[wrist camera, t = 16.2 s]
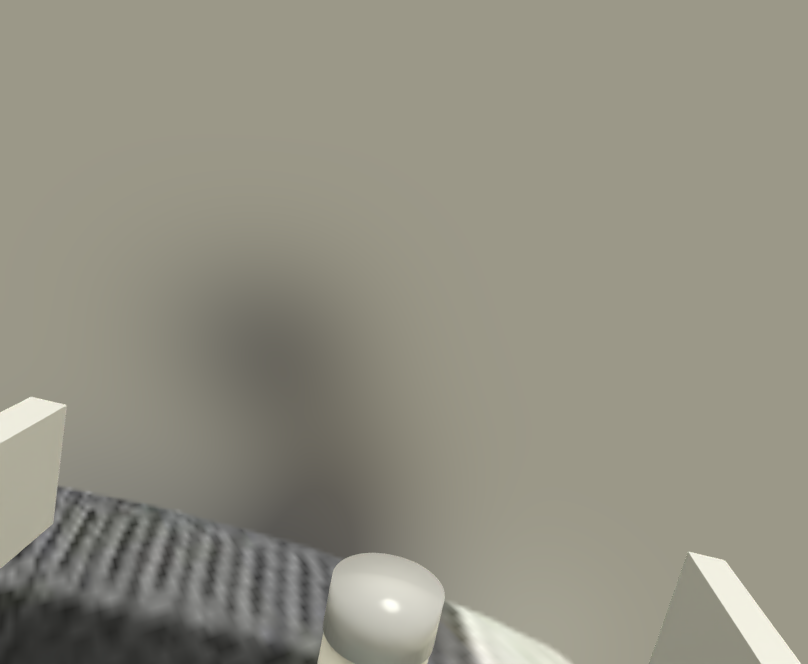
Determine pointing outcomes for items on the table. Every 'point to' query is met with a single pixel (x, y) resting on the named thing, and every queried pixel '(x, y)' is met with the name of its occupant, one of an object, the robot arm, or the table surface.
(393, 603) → the fuse
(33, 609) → the table surface
